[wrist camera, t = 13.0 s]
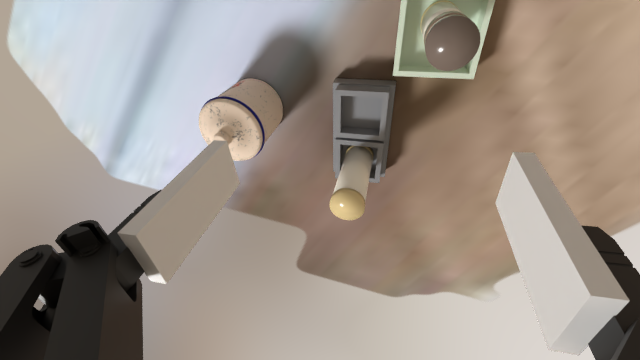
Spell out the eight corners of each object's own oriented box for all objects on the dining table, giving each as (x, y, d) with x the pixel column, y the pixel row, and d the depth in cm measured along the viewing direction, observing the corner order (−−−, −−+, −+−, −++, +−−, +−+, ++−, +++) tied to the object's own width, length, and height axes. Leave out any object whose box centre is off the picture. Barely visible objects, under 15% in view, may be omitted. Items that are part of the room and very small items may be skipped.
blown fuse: (423, 0, 33) (429, 16, 23) (463, -1, 32) (487, 16, 22) (417, 40, 35) (421, 70, 26) (454, 41, 34) (472, 71, 25)
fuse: (346, 141, 43) (329, 191, 34) (374, 143, 42) (365, 195, 33) (345, 164, 46) (329, 217, 36) (372, 167, 45) (363, 222, 36)
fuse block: (335, 78, 40) (329, 87, 37) (396, 80, 39) (395, 91, 36) (335, 164, 49) (330, 178, 45) (385, 169, 47) (383, 184, 44)
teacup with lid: (239, 63, 42) (193, 91, 33) (294, 97, 43) (264, 133, 34) (218, 127, 50) (176, 164, 41) (266, 154, 51) (236, 197, 42)
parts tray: (405, -38, 31) (405, -38, 29) (498, -42, 30) (506, -42, 27) (393, 68, 38) (392, 75, 36) (469, 71, 36) (473, 79, 34)
